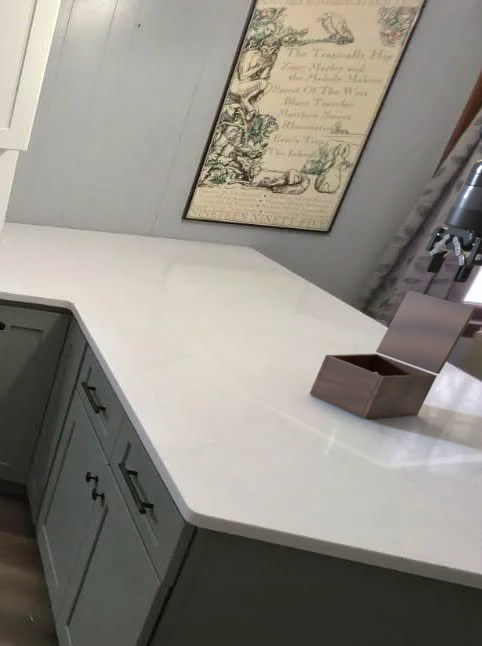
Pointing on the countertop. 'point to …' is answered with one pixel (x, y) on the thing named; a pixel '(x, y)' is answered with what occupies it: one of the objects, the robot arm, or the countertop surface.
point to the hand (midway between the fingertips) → (444, 276)
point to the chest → (372, 385)
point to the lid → (425, 331)
